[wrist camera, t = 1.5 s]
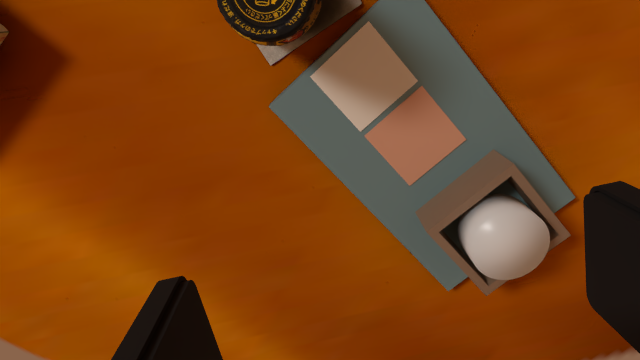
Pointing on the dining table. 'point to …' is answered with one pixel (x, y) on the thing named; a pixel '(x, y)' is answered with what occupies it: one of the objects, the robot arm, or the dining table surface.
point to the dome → (503, 237)
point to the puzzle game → (3, 33)
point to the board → (418, 135)
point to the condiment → (282, 21)
